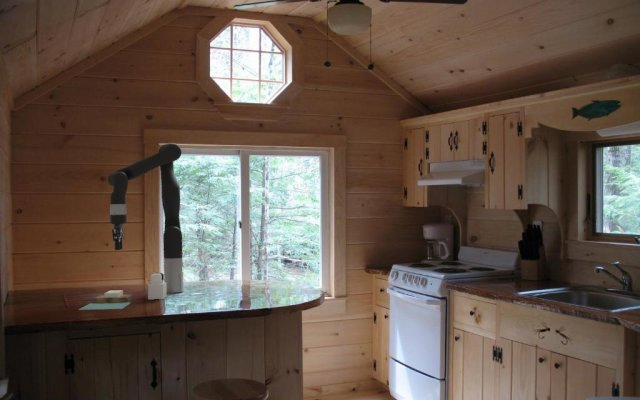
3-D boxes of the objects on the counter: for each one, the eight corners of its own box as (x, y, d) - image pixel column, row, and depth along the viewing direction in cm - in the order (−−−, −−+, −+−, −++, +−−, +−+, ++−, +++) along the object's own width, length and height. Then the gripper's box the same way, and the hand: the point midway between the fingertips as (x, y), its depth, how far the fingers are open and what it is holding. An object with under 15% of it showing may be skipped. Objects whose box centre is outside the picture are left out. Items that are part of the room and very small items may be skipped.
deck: (132, 299, 294) (132, 294, 294) (127, 303, 284) (127, 297, 284) (100, 300, 294) (100, 294, 294) (93, 303, 284) (93, 298, 284)
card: (109, 294, 294) (109, 290, 294) (122, 294, 294) (122, 290, 294) (104, 297, 285) (104, 293, 285) (118, 297, 285) (117, 293, 285)
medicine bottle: (151, 297, 301) (151, 272, 301) (166, 297, 301) (166, 272, 301) (147, 299, 294) (147, 274, 294) (163, 299, 294) (162, 273, 294)
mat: (130, 303, 284) (130, 302, 284) (121, 309, 268) (121, 308, 268) (90, 304, 283) (90, 303, 283) (78, 310, 267) (78, 309, 267)
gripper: (122, 214, 292) (122, 250, 292) (129, 213, 306) (130, 248, 306) (106, 214, 292) (106, 251, 292) (114, 213, 306) (114, 248, 306)
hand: (118, 249), depth 299 cm, fingers open, 3 cm apart
